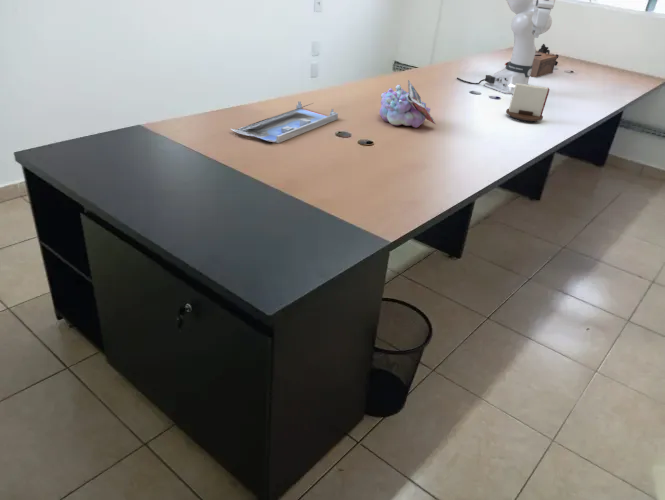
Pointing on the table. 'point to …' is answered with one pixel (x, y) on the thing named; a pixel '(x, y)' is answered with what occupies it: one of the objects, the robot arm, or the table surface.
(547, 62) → the tissue box cover
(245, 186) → the table surface
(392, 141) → the table surface
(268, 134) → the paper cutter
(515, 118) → the stand base
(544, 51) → the tablet mount
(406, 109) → the lilac bumpy lump
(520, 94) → the upright block on disc
